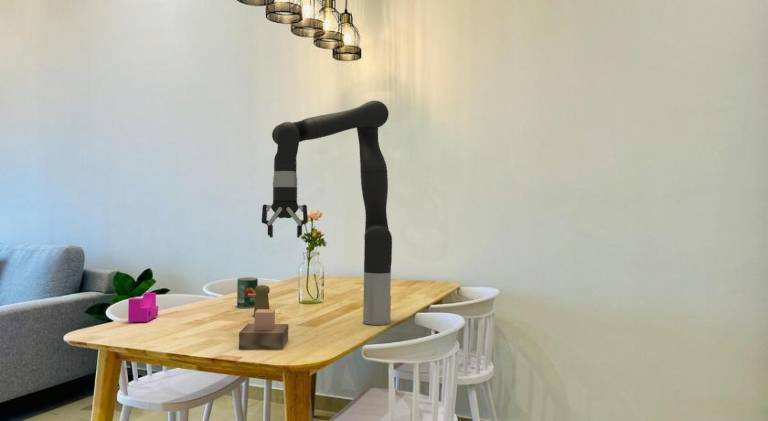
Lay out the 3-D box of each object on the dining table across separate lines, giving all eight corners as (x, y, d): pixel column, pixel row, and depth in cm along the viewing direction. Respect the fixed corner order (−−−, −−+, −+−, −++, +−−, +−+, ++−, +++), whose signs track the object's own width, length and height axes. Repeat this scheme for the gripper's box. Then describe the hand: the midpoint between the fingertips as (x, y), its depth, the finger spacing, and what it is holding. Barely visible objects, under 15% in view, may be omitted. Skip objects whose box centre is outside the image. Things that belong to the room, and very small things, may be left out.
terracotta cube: (274, 326, 162) (274, 309, 162) (272, 330, 157) (272, 312, 157) (257, 326, 161) (257, 309, 161) (254, 330, 156) (254, 312, 156)
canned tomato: (241, 304, 224) (241, 277, 224) (260, 305, 223) (260, 277, 223) (233, 307, 216) (234, 279, 216) (253, 308, 215) (254, 280, 215)
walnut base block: (288, 340, 165) (288, 324, 165) (282, 351, 153) (283, 333, 153) (247, 340, 165) (247, 323, 165) (238, 350, 153) (239, 332, 153)
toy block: (147, 321, 188) (147, 299, 188) (128, 321, 188) (128, 299, 188) (162, 313, 203) (162, 292, 203) (145, 313, 203) (145, 292, 203)
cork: (249, 316, 199) (250, 285, 199) (259, 313, 205) (260, 283, 205) (264, 318, 197) (264, 287, 197) (273, 315, 202) (274, 284, 202)
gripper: (308, 186, 180) (308, 237, 180) (264, 186, 179) (263, 236, 179) (306, 186, 172) (306, 238, 172) (260, 185, 171) (260, 238, 171)
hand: (284, 237), depth 176 cm, fingers open, 8 cm apart
